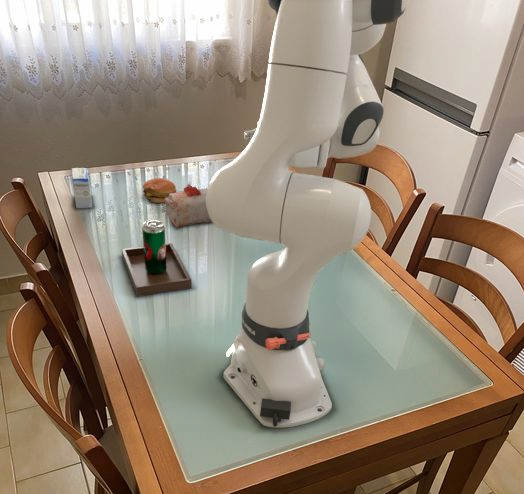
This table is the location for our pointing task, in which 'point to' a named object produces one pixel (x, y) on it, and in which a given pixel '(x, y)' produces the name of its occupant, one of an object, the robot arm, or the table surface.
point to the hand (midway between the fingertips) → (252, 143)
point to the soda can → (154, 246)
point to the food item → (187, 206)
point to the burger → (158, 189)
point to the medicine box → (81, 188)
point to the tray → (156, 283)
